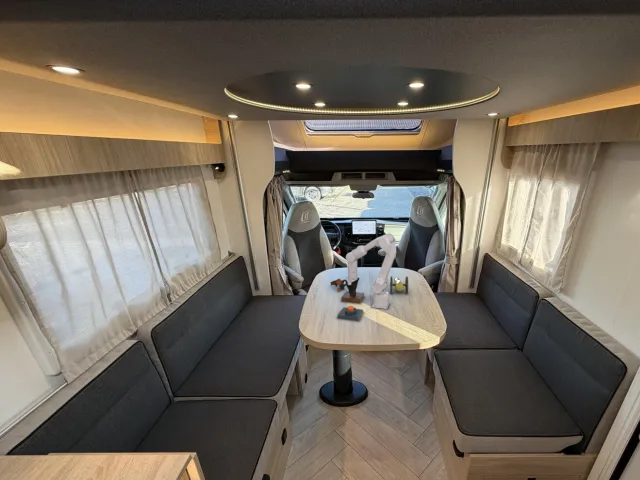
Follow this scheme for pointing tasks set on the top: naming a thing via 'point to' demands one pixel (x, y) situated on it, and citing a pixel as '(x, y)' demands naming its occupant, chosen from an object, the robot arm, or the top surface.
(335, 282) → the brown angular figurine
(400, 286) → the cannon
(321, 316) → the top surface
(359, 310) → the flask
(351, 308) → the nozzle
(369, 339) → the top surface
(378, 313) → the top surface
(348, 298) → the base
